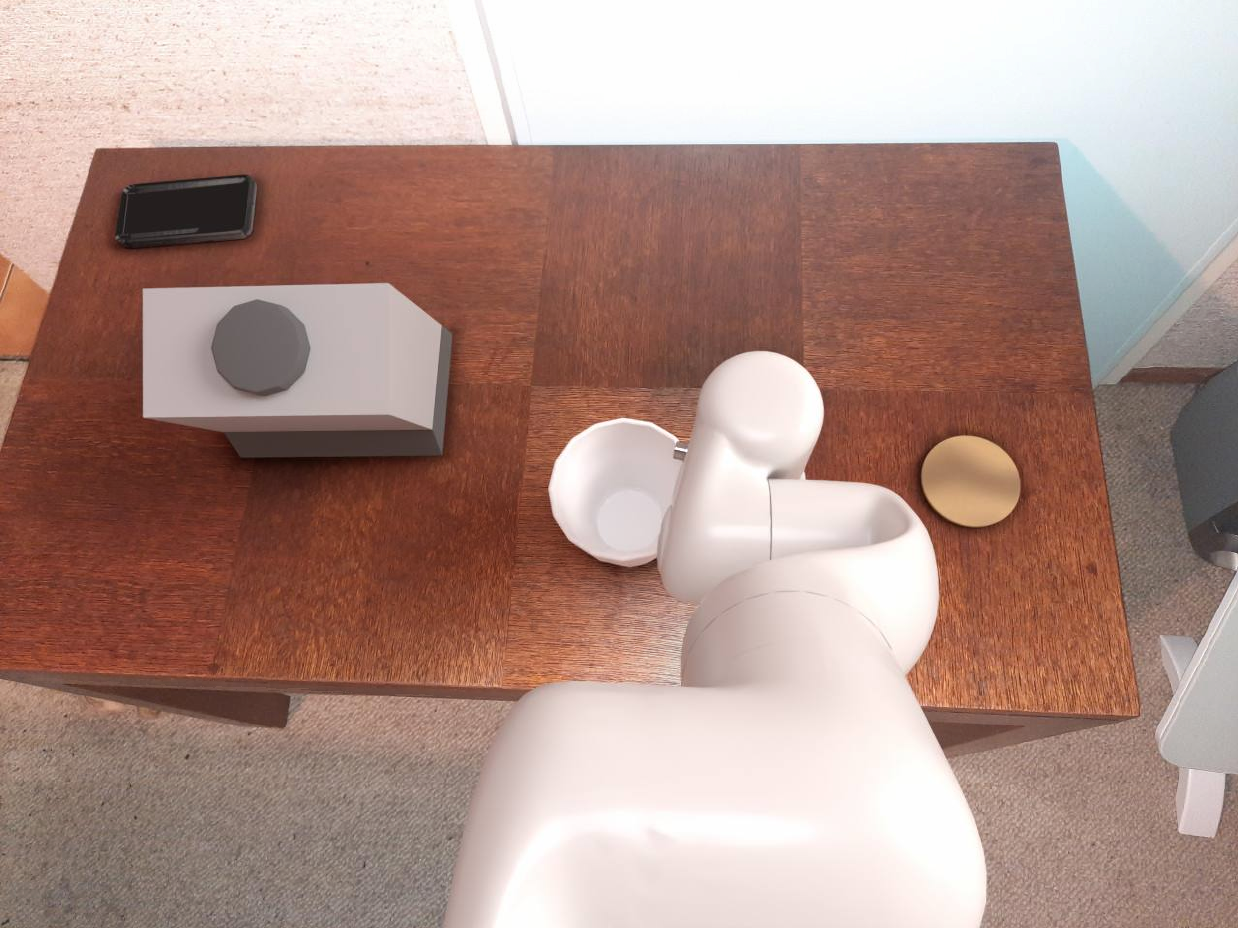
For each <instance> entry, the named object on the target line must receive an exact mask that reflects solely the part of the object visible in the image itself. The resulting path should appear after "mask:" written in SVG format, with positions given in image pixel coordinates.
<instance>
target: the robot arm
mask: <svg viewBox="0 0 1238 928" xmlns="http://www.w3.org/2000/svg"><path fill="white" fill-rule="evenodd" d="M696 404H697V405H696V412H695V418H694V421H693V426H692V430H691V434H690V438H689V441H687V442H683V441H680V440H678V441H677V442H676V446H675V449H674V454H673V459H675V460H680V461H683V463H682V465H681V468H680V470H679V474H678V477H677V479H676V483H675V487H674V492H673V498H672V505H670V506H669V507H668V509H667V511H666V512H665V515H664V517H663V521H662V524H661V531H660V533H659V539H658V546H657V558H656V566H657V570H658V573H659V574H660V578H661V579H660V580H661V582H662V586H663V588H664V590H665V591H666V592H667V594H668V595H669V596H670V597H671V598H673V599H674V600H676V601H678V602H682V603H685V604H689V605H690V604H691V605H697V606H696V607H695V609H694V611H693V612H692V614H691V617H690V618H689V620H688V623H687V625H686V627H685V632H684V635H683V638H682V644H681V652H680V685H666V684H652V683H651V684H648V683H629V682H613V681H612V682H611V681H610V682H609V681H594V680H593V681H592V680H565V681H551V682H548V683H544V684H541V685H538V686H536V687H534V688H532V689H530V690H529V691H527V692H525V693H524V694H523V695H522V696H521V697H520V698H519V699H518V700H517V701H516V702H515V703H514V704H513V705H512V707H511V708H510V709H509V711H508V712H507V714H506V715H505V716H504V718H503V719H502V721H501V723H500V725H499V727H498V729H497V730H496V732H495V734H494V736H493V738H492V741H491V743H490V745H489V748H488V749H487V753H486V755H485V757H484V760H483V764H482V767H481V770H480V773H479V776H478V779H477V782H476V785H475V788H474V791H473V795H472V797H471V800H470V803H469V807H468V811H467V816H466V820H465V823H464V828H463V833H462V836H461V840H460V845H459V847H458V848H459V849H458V852H457V858H456V861H455V866H454V870H453V874H452V878H451V884H450V887H449V893H448V897H447V901H446V908H445V913H444V918H443V925H442V928H980V927H981V924H982V920H983V916H984V912H985V909H986V905H987V887H988V886H987V885H988V883H987V882H988V881H987V880H988V879H987V878H988V875H987V874H988V871H987V865H986V858H985V851H984V848H983V844H982V840H981V837H980V833H979V830H978V827H977V823H976V820H975V818H974V815H973V813H972V812H973V811H972V810H971V808H970V805H969V803H968V800H967V798H966V796H965V794H964V792H963V789H962V788H961V785H960V784H959V781H958V780H957V776H955V773H954V771H953V770H952V767H951V765H950V762H949V761H948V759H947V757H946V755H945V753H944V751H943V749H942V747H941V745H940V743H939V741H938V739H937V736H936V734H935V733H934V731H933V729H932V727H931V725H930V723H929V721H928V719H927V717H926V714H925V713H924V711H923V709H922V707H921V705H920V703H919V701H918V698H916V695H915V693H914V691H913V689H912V687H911V685H910V683H909V681H908V679H907V677H906V676H907V675H908V674H909V672H910V671H911V670H912V669H913V668H914V667H915V665H916V664H917V662H918V661H919V660H920V658H921V656H922V655H923V653H924V651H925V650H926V648H927V646H928V643H929V641H930V639H931V637H932V633H933V631H934V628H935V625H936V621H937V617H938V611H939V605H940V604H939V602H940V589H939V588H940V587H939V585H940V584H939V570H938V566H937V559H936V558H937V557H936V554H935V549H934V546H933V543H932V539H931V537H930V535H929V532H928V529H927V528H926V526H925V524H924V523H923V521H922V520H921V518H920V517H919V516H918V514H917V513H916V512H915V511H914V510H913V509H912V507H911V506H910V505H909V504H908V503H907V502H906V501H905V500H904V499H903V498H902V497H901V496H900V495H899V494H897V493H896V492H895V491H893V490H891V489H889V488H887V487H885V486H882V485H878V484H873V483H867V482H859V481H841V480H828V479H827V480H826V479H825V480H824V479H807V478H806V473H805V469H806V467H807V464H808V462H809V460H810V458H811V455H812V454H813V451H814V449H815V446H816V444H817V443H818V439H819V438H820V437H819V436H820V434H821V431H822V427H823V423H824V417H825V408H824V401H823V397H822V393H821V390H820V387H819V386H818V384H817V382H816V379H814V377H813V376H812V375H811V373H810V372H809V371H808V370H807V369H806V368H805V367H804V366H802V364H800V363H799V362H798V361H796V360H795V359H792V358H790V357H788V356H787V355H783V354H781V353H778V352H773V351H769V350H753V351H746V352H743V353H739V354H736V355H733V356H732V357H729V358H728V359H726V360H724V361H722V362H721V363H720V364H718V365H717V366H716V367H715V368H714V369H713V370H712V372H711V373H710V374H709V375H708V376H707V378H706V379H705V380H704V383H703V384H702V386H701V389H700V391H699V394H698V399H697V403H696Z"/></svg>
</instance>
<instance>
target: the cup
mask: <svg viewBox="0 0 1238 928" xmlns="http://www.w3.org/2000/svg"><path fill="white" fill-rule="evenodd" d="M677 441H679V439H678V438H677V437H676V435H674V434H673V433H671V432H668V431H666V430H665V429H663V428H662V427H660V426H658V425H656V424H655V423H653V422H652V421H646V420H645V421H643V420H639V419H633V418H628V417H627V418H626V417H621V418H615V419H611V420H606V421H602V422H596V423H594V424H592V425H591V426H589V427H587V428H586V429H584V430H583V431H581V432H580V433H578V434H576V435H574V436H572V438H570V439H569V441H568V442H567V444H566V445H565V446H564V448H563V449H562V451H561V452H560V454H559V455H558V457H557V458H556V459H555V461H554V464H553V469H552V472H551V475H550V476H551V477H550V479H549V484H548V488H547V490H548V496H549V501H550V502H549V503H550V508H551V512H552V517H553V518H554V520H555V521H556V523H557V524H558V526H559V528H560V529H561V531H562V533H563V534H564V535H565V537H566V538H567V540H568V541H569V542H571V544H574V545H575V546H576V547H578V548H579V549H581V550H582V551H584V552H585V553H587V554H589V555H590V556H592V557H593V558H595V559H596V560H598V561H599V562H604V563H609V564H612V565H617V566H620V567H626V568H633V567H638V566H642V565H647V564H648V563H650V562H651V561H653V560H655V559H657V546H658V539H659V533H660V531H661V524H662V521H663V517H664V515H665V512H666V511H667V509H668V507H669V506H670V505H672V498H673V492H674V487H675V483H676V479H677V477H678V474H679V470H680V468H681V465H682V463H683V461H680V460H675V459H673V454H674V449H675V446H676V442H677Z"/></svg>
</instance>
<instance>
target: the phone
mask: <svg viewBox="0 0 1238 928" xmlns="http://www.w3.org/2000/svg"><path fill="white" fill-rule="evenodd" d="M257 197H258V184H257V182H256V181H255V180H254V178H253V177H252V176H250V175H249V174H244V173H243V174H233V175H232V174H231V175H222V176H221V175H219V176H210V177H200V178H199V177H198V178H187V179H186V178H185V179H176V180H175V179H174V180H163V181H154V182H152V181H151V182H141V183H140V182H139V183H132V184H129V185H127V186H126V187H124V189H123V190H122V192H121V197H120V203H119V209H118V215H117V221H116V226H115V233H114V238H115V240H116V241H117V242H118V243H119V244H120V245H121V246H122V247H123V248H125V249H139V248H150V247H151V248H152V247H162V246H163V247H164V246H175V245H186V244H199V243H210V242H211V243H212V242H221V241H223V242H224V241H233V240H243V239H247V238H248V237H250V236H251V235H252V234H253V232H254V225H255V216H256V208H257V207H256V206H257Z"/></svg>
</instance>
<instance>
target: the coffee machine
mask: <svg viewBox="0 0 1238 928" xmlns="http://www.w3.org/2000/svg"><path fill="white" fill-rule="evenodd" d="M453 337H454V336H453V333H452V332H450V330H448V329H447V328H446V327H445V326H444V325H442V324H441V323H440V322H438V321H437V320H436V319H434V318H433V317H432V316H430V315H429V314H428V313H427V312H426V311H424V310H423V309H422V308H421V307H419V306H418V305H417V304H416V303H414V302H413V301H412V300H411V299H409V298H408V297H407V296H406V295H404V294H403V293H401V291H400V290H398V289H396V287H394V286H393V285H392V284H390V283H389V282H374V283H369V282H368V283H337V284H336V283H331V284H330V283H327V284H326V283H325V284H324V283H323V284H285V285H284V284H283V285H242V286H241V285H240V286H239V285H235V286H234V285H233V286H202V287H201V286H196V287H195V286H194V287H190V286H189V287H152V288H148V287H147V288H142V418H143V419H148V420H154V421H159V422H164V423H165V422H166V423H170V424H171V423H172V424H177V425H182V426H189V427H192V428H197V429H204V430H209V431H215V432H220V433H223V434H224V435H225V436H226V438H227V440H229V443H230V444H231V446H232V447H233V448H234V450H235V451H236V453H237V455H238V456H239V457H240V458H326V457H327V458H335V457H336V458H337V457H338V458H339V457H340V458H342V457H343V458H345V457H428V456H430V457H433V456H434V457H436V456H443V448H444V440H445V439H444V437H445V428H446V427H445V426H446V415H447V404H448V403H447V402H448V392H449V383H450V381H449V380H450V369H451V360H452V359H451V358H452V348H453V347H452V346H453V345H452V344H453Z"/></svg>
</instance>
